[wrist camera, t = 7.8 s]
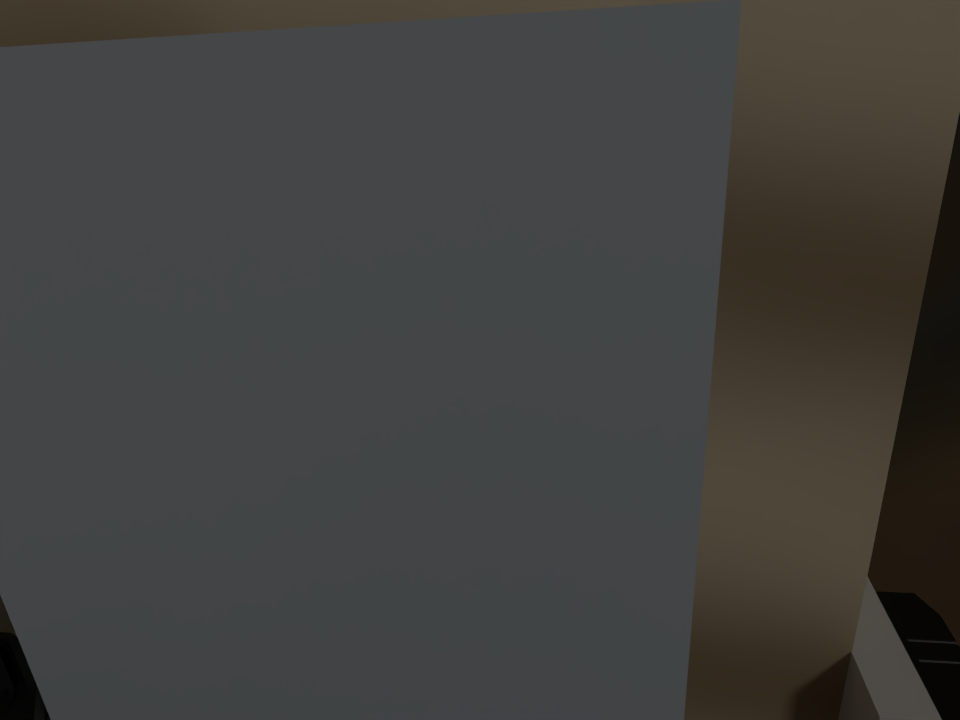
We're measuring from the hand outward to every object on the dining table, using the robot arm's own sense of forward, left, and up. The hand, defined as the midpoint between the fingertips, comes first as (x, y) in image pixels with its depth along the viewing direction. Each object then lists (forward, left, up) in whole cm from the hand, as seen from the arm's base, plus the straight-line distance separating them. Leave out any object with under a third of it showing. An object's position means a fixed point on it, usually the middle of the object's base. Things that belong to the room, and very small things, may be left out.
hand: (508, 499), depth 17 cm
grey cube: (+7, 0, +5) cm, 9 cm away
